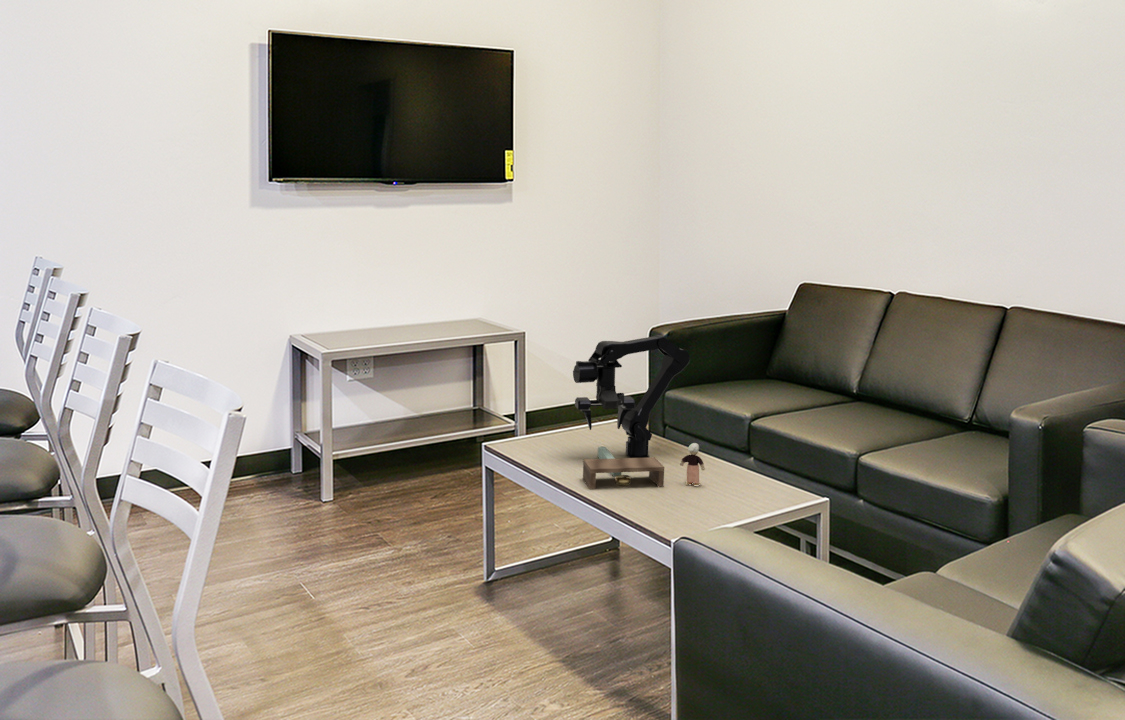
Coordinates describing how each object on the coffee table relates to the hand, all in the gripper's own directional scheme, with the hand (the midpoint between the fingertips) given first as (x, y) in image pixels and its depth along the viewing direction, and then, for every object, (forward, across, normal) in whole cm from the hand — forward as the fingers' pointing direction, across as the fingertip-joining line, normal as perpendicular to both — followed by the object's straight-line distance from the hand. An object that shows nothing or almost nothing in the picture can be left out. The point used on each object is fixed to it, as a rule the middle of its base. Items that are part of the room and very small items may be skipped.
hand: (604, 429), depth 302 cm
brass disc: (+10, 0, -25) cm, 27 cm away
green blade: (+10, 0, -8) cm, 13 cm away
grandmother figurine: (+10, +20, -29) cm, 37 cm away
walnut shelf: (+10, 0, -25) cm, 27 cm away
